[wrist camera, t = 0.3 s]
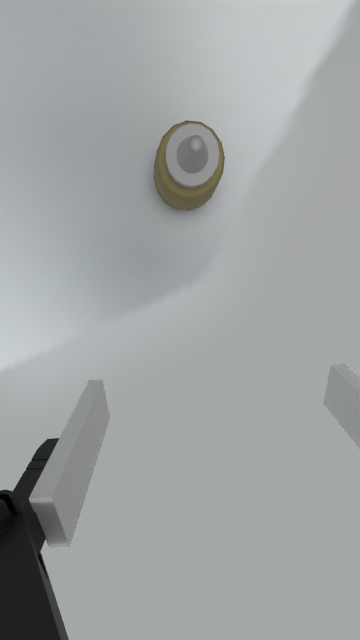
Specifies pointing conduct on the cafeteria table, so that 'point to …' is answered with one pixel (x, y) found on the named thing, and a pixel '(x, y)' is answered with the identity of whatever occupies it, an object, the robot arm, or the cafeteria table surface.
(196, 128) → the squeeze bottle
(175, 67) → the cafeteria table surface
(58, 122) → the cafeteria table surface
